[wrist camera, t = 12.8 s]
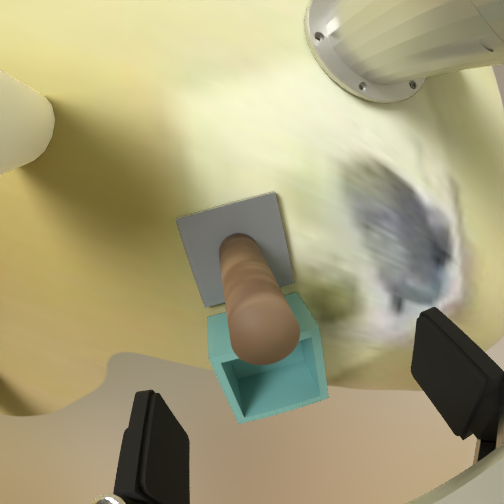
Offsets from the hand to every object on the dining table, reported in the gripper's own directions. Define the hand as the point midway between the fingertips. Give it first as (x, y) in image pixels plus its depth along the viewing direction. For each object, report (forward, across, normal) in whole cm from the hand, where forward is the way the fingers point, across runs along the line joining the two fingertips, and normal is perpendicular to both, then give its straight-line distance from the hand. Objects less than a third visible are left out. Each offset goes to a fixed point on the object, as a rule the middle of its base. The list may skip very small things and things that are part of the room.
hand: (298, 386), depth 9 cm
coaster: (+16, +1, +1) cm, 17 cm away
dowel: (+16, +1, +1) cm, 16 cm away
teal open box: (+16, +1, +10) cm, 19 cm away
